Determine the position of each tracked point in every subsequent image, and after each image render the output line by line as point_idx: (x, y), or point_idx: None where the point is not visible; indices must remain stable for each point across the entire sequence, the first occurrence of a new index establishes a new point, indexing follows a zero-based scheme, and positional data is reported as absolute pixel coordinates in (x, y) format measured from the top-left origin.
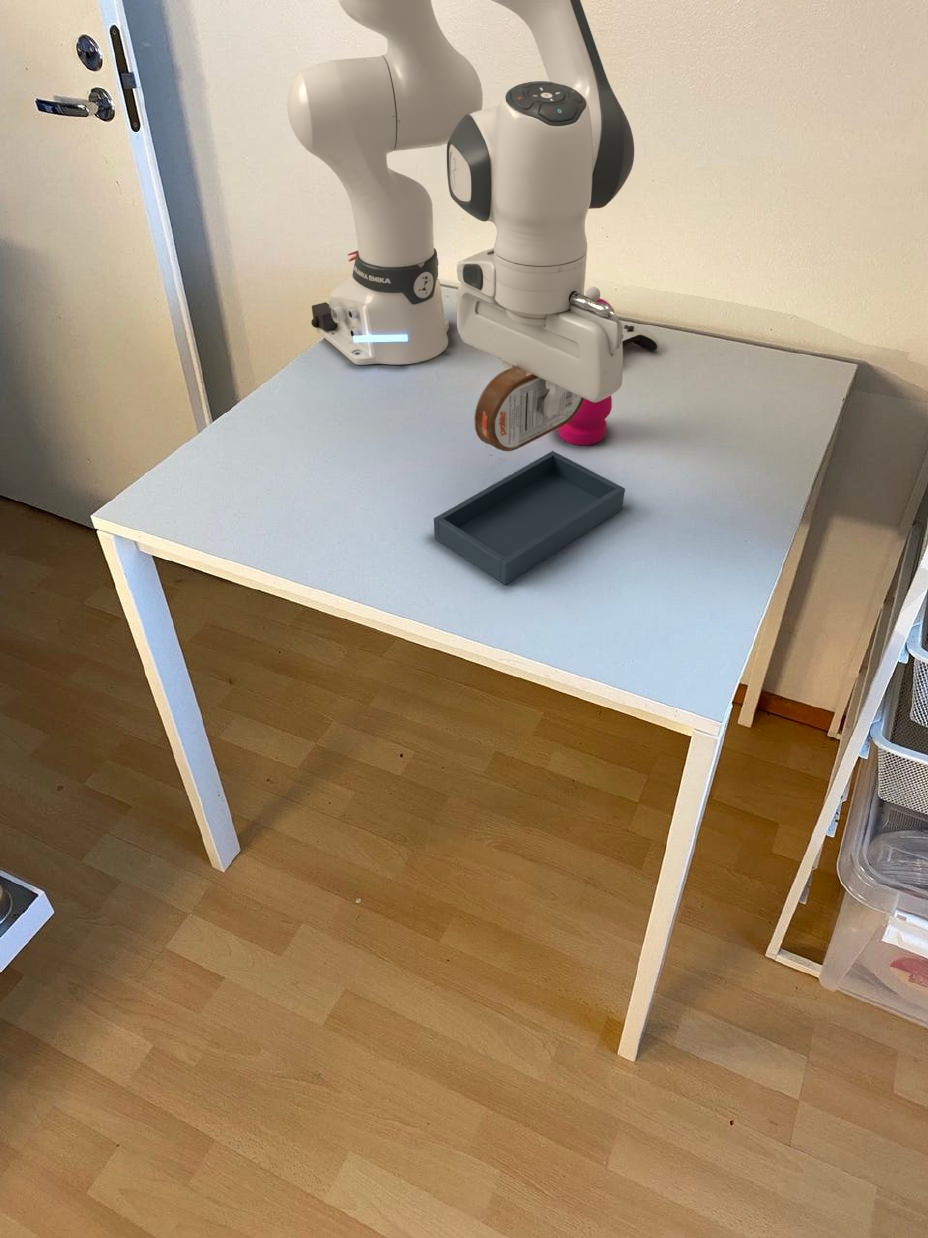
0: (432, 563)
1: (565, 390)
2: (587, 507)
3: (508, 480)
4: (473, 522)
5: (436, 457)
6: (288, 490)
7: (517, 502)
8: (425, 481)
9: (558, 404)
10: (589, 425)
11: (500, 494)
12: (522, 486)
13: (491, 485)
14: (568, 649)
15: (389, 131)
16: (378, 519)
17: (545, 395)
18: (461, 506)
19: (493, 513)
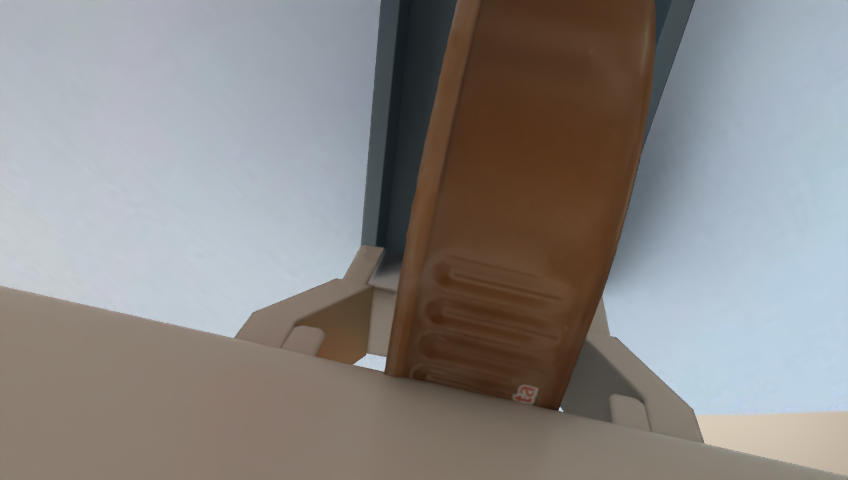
0: None
1: (660, 380)
2: (660, 53)
3: (391, 74)
4: (402, 192)
5: (137, 6)
6: (69, 280)
7: (436, 66)
8: (205, 111)
9: (604, 313)
10: None
11: (396, 98)
12: (408, 6)
13: (371, 121)
14: (765, 379)
15: None
16: (247, 266)
17: None
18: (374, 230)
19: (416, 139)
